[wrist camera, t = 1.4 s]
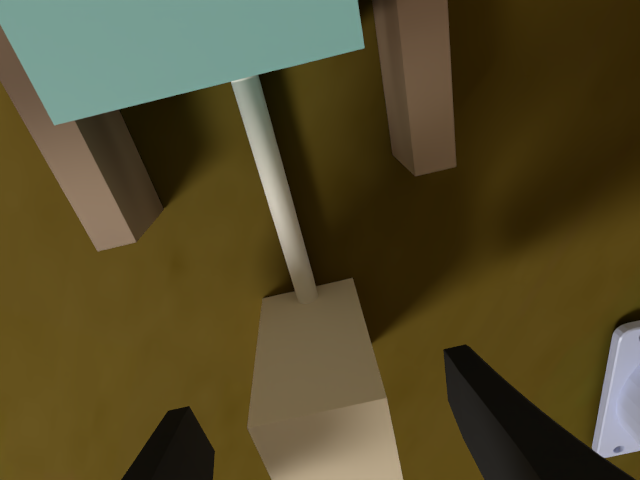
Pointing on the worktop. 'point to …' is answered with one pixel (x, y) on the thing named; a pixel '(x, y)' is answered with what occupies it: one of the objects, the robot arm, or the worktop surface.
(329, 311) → the multicoloured linked piece
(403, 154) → the u-shaped wooden frame
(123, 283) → the worktop surface
